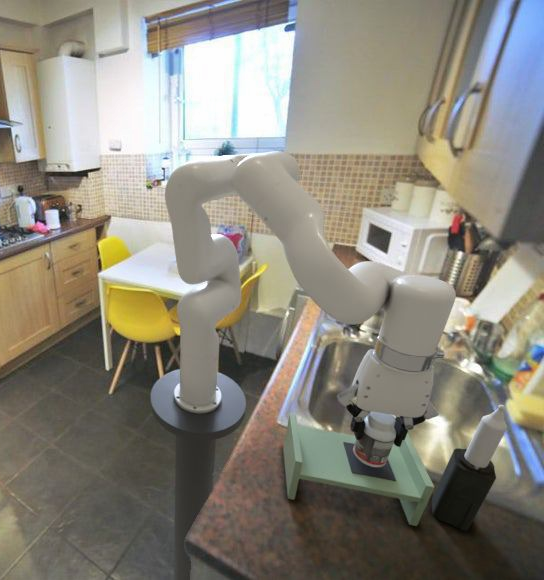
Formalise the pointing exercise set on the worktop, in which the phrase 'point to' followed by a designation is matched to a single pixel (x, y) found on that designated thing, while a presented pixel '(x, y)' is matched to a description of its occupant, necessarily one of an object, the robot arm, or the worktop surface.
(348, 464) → the shelf
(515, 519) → the worktop surface
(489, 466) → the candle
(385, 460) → the pill bottle
